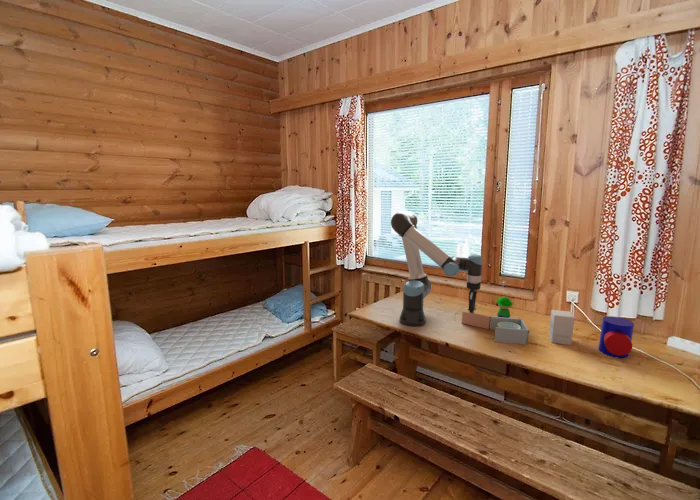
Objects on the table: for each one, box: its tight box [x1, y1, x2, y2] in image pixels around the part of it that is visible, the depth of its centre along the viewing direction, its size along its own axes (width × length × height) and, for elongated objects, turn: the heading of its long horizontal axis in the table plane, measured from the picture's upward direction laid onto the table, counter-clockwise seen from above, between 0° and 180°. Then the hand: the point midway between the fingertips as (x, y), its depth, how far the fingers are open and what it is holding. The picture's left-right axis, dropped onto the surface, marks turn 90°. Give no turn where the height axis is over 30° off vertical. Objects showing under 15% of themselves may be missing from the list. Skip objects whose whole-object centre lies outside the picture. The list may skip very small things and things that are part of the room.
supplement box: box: [548, 309, 575, 346], centre depth 184 cm, size 9×9×15 cm
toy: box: [495, 296, 514, 318], centre depth 209 cm, size 9×9×15 cm
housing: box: [489, 315, 530, 345], centre depth 189 cm, size 16×16×8 cm
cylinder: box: [598, 315, 635, 359], centre depth 171 cm, size 20×12×16 cm, turn 149°
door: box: [461, 310, 491, 330], centre depth 203 cm, size 2×16×7 cm, turn 57°
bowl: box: [497, 322, 521, 329], centre depth 189 cm, size 11×12×6 cm
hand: (470, 320), depth 208 cm, fingers closed
